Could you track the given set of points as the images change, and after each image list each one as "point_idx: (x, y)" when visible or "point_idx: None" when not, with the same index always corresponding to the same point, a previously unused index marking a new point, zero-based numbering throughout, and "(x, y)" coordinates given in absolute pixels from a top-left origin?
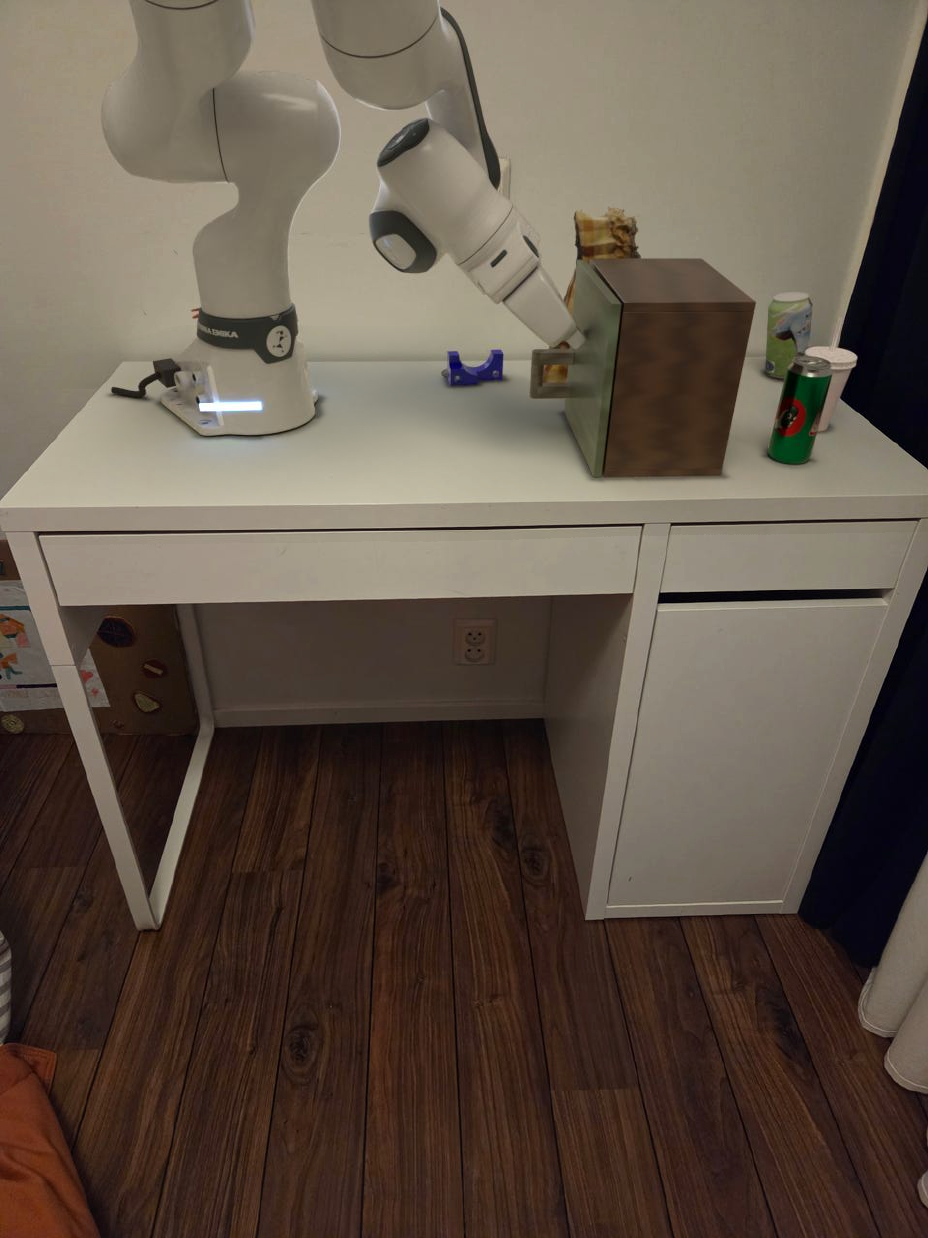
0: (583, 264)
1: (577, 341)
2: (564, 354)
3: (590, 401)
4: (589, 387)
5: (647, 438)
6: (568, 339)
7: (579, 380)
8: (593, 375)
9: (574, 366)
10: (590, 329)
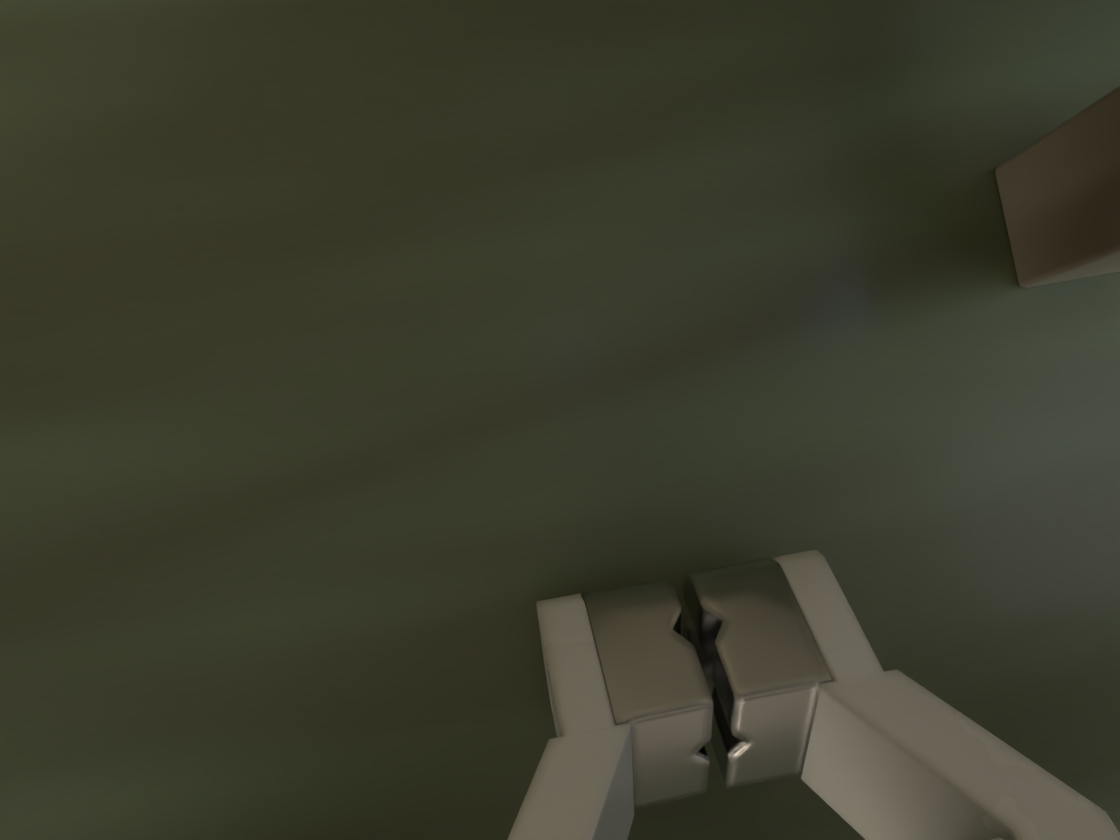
0: None
1: (549, 684)
2: (1069, 247)
3: (72, 277)
4: (193, 360)
5: None
6: (560, 733)
7: (645, 186)
8: (93, 543)
9: (936, 179)
10: (479, 826)
